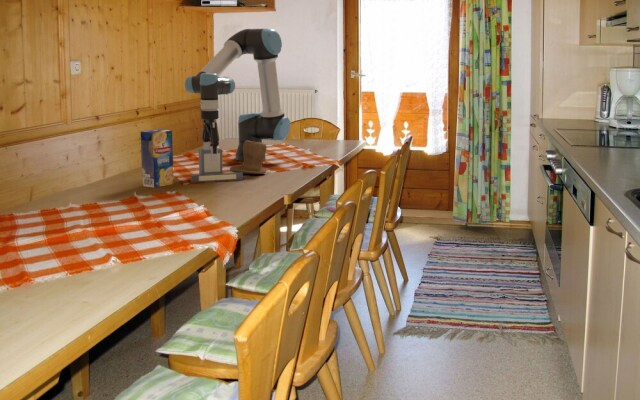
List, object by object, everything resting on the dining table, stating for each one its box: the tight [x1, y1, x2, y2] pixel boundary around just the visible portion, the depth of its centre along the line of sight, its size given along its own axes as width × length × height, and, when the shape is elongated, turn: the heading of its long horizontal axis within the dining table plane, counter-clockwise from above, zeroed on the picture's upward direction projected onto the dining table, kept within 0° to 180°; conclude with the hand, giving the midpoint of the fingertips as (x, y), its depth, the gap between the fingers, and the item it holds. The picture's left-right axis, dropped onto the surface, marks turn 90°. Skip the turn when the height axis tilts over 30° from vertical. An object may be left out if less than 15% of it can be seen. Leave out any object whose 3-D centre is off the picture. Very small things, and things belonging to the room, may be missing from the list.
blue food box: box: [140, 129, 175, 188], centre depth 314 cm, size 7×11×22 cm, turn 148°
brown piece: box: [229, 140, 267, 175], centre depth 345 cm, size 15×12×15 cm
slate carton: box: [198, 147, 223, 175], centre depth 336 cm, size 9×5×12 cm, turn 112°
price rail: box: [190, 172, 244, 184], centre depth 326 cm, size 2×22×3 cm, turn 111°
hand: (210, 159), depth 336 cm, fingers open, 13 cm apart
